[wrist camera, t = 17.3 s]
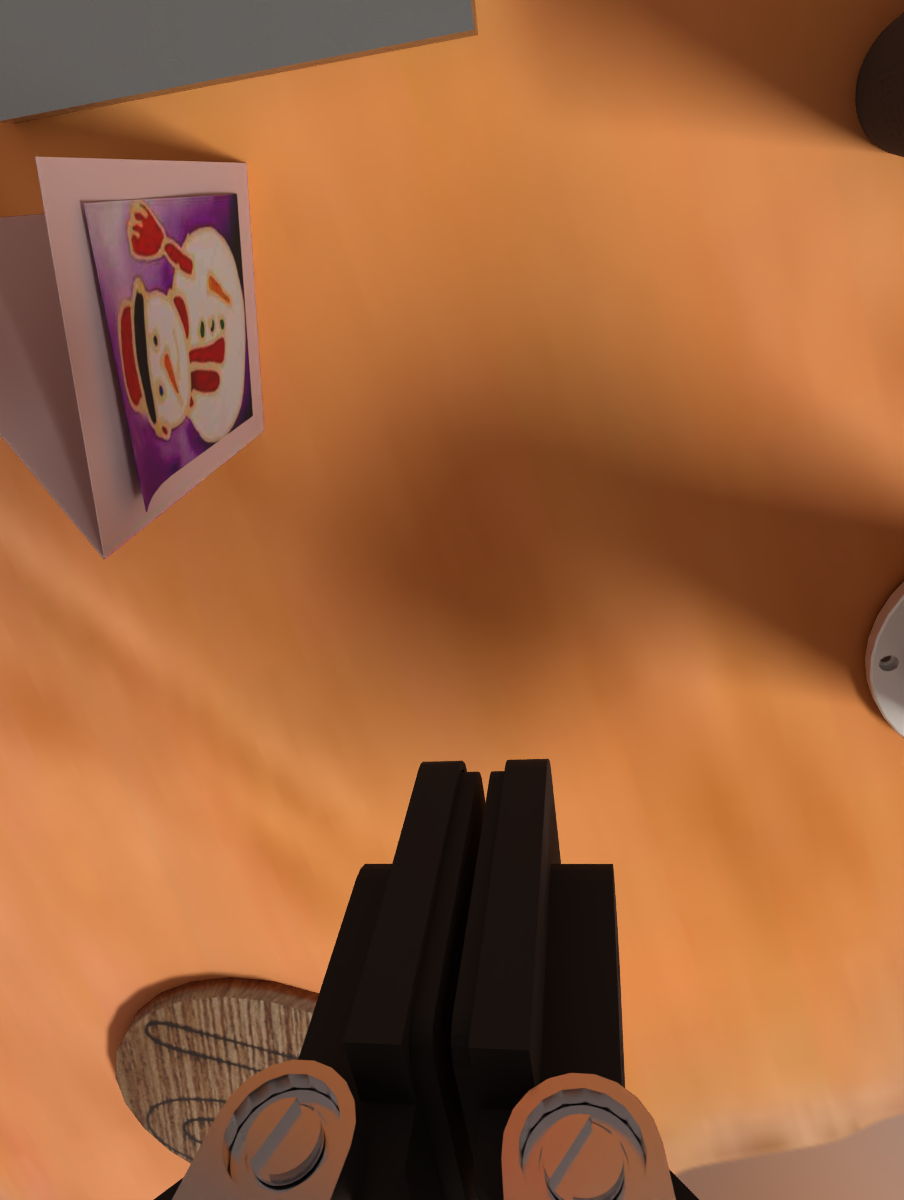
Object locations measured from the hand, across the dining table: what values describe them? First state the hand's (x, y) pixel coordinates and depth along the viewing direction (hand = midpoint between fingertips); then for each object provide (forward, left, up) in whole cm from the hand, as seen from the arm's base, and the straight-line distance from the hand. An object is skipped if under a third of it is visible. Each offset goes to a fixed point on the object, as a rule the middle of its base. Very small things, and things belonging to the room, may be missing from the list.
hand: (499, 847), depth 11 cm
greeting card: (+16, -5, -29) cm, 34 cm away
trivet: (+26, +52, -30) cm, 66 cm away
